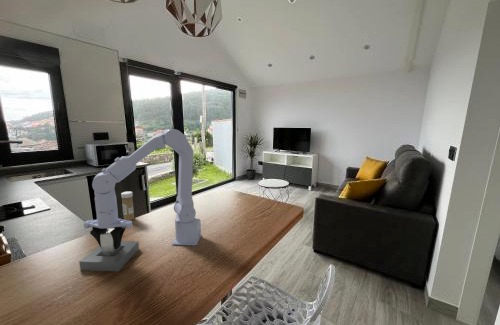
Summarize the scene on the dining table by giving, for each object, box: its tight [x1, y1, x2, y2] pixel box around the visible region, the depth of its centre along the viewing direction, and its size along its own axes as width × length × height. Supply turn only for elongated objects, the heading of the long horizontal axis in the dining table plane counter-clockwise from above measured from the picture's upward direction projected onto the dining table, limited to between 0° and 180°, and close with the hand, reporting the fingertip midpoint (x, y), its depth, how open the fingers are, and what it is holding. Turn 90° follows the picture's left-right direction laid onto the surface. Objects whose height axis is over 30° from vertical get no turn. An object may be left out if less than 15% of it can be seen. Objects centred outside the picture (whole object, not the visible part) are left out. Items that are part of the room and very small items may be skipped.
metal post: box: [100, 228, 121, 256], centre depth 71 cm, size 4×4×9 cm
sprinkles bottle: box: [120, 191, 135, 221], centre depth 99 cm, size 5×5×14 cm
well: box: [78, 240, 140, 272], centre depth 72 cm, size 12×12×3 cm
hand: (110, 247), depth 71 cm, fingers closed on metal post, 4 cm apart
